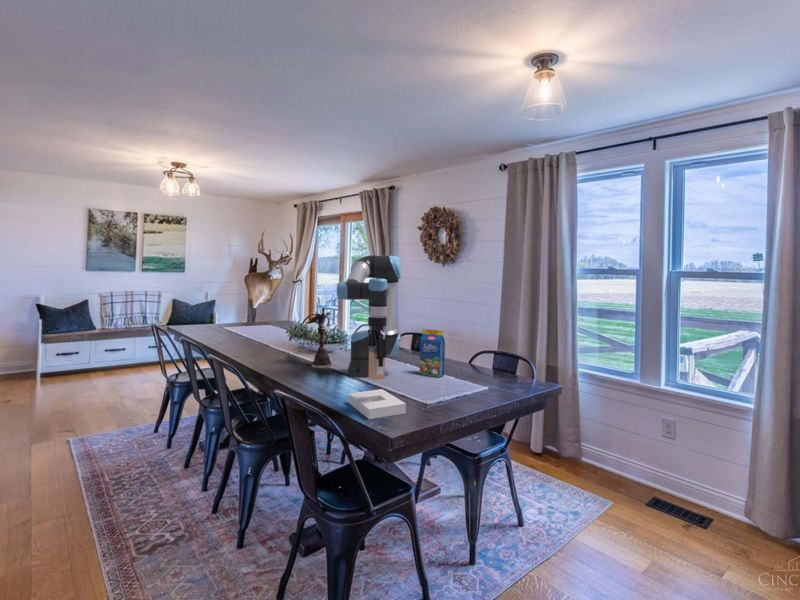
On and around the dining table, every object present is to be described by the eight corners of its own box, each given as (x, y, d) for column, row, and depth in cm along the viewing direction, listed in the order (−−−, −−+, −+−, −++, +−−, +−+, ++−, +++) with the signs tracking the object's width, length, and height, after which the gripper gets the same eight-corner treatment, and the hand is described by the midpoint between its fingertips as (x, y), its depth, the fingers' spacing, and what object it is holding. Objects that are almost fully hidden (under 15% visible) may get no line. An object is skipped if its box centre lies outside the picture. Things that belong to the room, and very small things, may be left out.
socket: (348, 402, 180) (348, 393, 180) (382, 397, 188) (382, 389, 187) (369, 419, 161) (369, 409, 160) (405, 413, 168) (405, 403, 168)
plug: (368, 377, 174) (368, 346, 173) (379, 375, 177) (379, 345, 176) (373, 380, 170) (374, 348, 169) (384, 378, 172) (385, 347, 171)
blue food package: (439, 378, 224) (440, 331, 222) (419, 374, 230) (420, 329, 228) (444, 375, 229) (445, 330, 227) (424, 372, 235) (425, 328, 233)
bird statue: (299, 365, 246) (299, 305, 243) (315, 361, 256) (315, 304, 254) (319, 369, 236) (319, 307, 234) (335, 365, 247) (336, 306, 244)
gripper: (360, 314, 177) (359, 368, 179) (378, 319, 162) (377, 378, 163) (376, 313, 181) (375, 367, 183) (395, 318, 165) (394, 376, 167)
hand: (376, 372), depth 173 cm, fingers closed on plug, 5 cm apart
